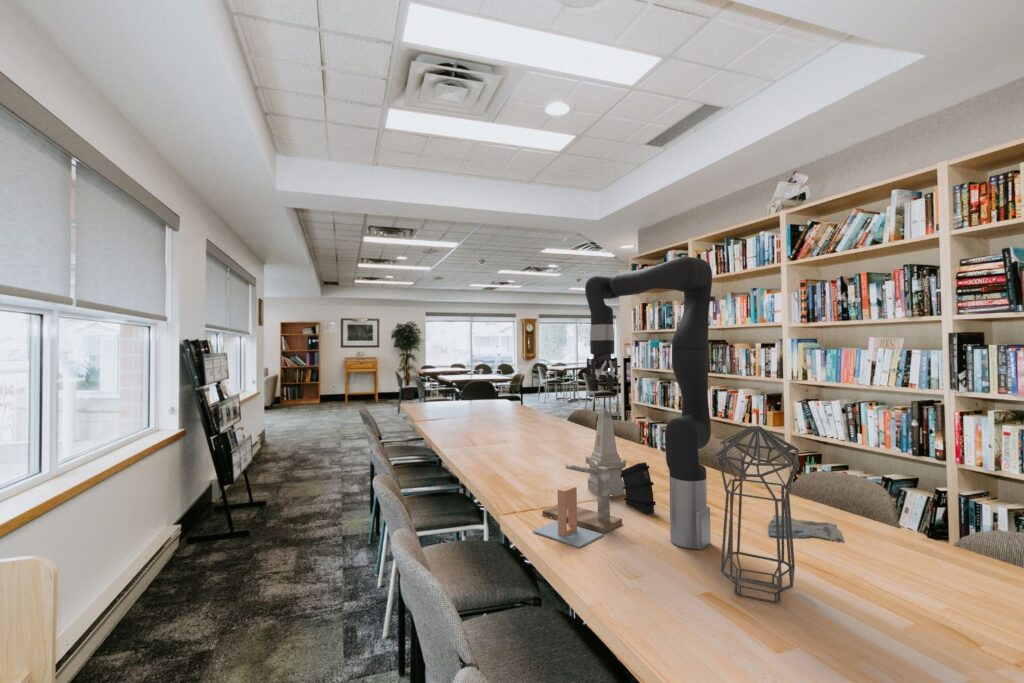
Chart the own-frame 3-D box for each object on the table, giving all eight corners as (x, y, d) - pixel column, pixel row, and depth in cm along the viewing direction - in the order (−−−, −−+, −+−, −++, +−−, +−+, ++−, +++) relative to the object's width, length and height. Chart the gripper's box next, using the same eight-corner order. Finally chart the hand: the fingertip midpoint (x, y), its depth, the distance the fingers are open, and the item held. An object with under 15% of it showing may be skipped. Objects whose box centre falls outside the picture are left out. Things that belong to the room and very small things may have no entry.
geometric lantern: (799, 584, 105) (799, 423, 105) (800, 621, 92) (799, 436, 91) (721, 567, 113) (720, 417, 113) (710, 599, 100) (710, 429, 99)
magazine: (652, 512, 147) (638, 463, 153) (628, 519, 158) (616, 472, 164) (662, 510, 148) (647, 461, 155) (638, 517, 159) (625, 471, 165)
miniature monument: (586, 489, 178) (585, 407, 178) (611, 486, 181) (610, 405, 181) (599, 497, 168) (598, 410, 168) (626, 494, 171) (625, 409, 171)
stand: (622, 523, 142) (621, 466, 143) (603, 533, 135) (602, 472, 135) (562, 507, 157) (561, 455, 158) (542, 515, 150) (541, 460, 150)
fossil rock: (835, 529, 138) (834, 521, 138) (846, 549, 124) (846, 540, 124) (765, 520, 145) (765, 512, 145) (768, 538, 132) (768, 530, 132)
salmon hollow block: (577, 530, 136) (576, 486, 136) (565, 536, 132) (564, 491, 132) (570, 528, 138) (569, 485, 138) (557, 534, 134) (557, 489, 134)
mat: (603, 536, 133) (603, 534, 133) (579, 548, 125) (579, 546, 125) (557, 522, 144) (557, 520, 144) (532, 532, 136) (532, 530, 136)
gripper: (599, 338, 147) (600, 392, 146) (624, 339, 157) (624, 389, 157) (579, 339, 152) (579, 391, 152) (604, 339, 162) (605, 388, 162)
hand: (602, 390), depth 154 cm, fingers open, 8 cm apart
